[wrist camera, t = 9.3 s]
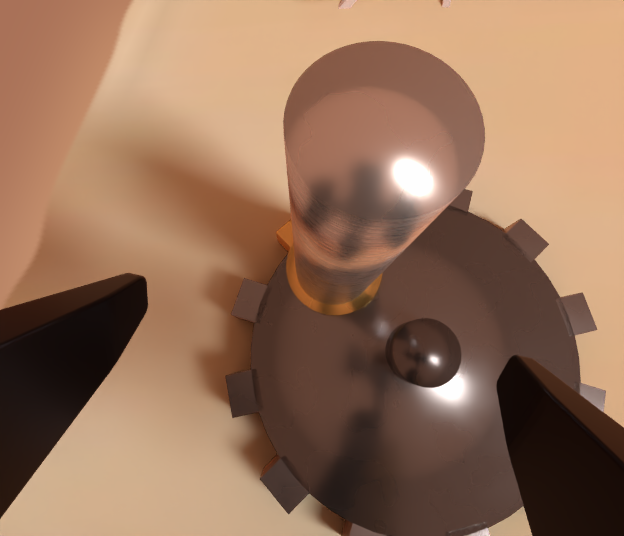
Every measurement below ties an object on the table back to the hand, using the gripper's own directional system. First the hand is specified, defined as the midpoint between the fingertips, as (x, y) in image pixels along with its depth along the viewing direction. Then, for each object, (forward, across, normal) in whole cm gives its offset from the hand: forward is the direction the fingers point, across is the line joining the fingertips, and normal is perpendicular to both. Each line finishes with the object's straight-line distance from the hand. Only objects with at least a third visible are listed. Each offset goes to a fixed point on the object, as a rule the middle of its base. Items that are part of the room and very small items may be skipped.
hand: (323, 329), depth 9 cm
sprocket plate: (+7, -5, +6) cm, 10 cm away
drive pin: (+8, 0, +2) cm, 8 cm away
